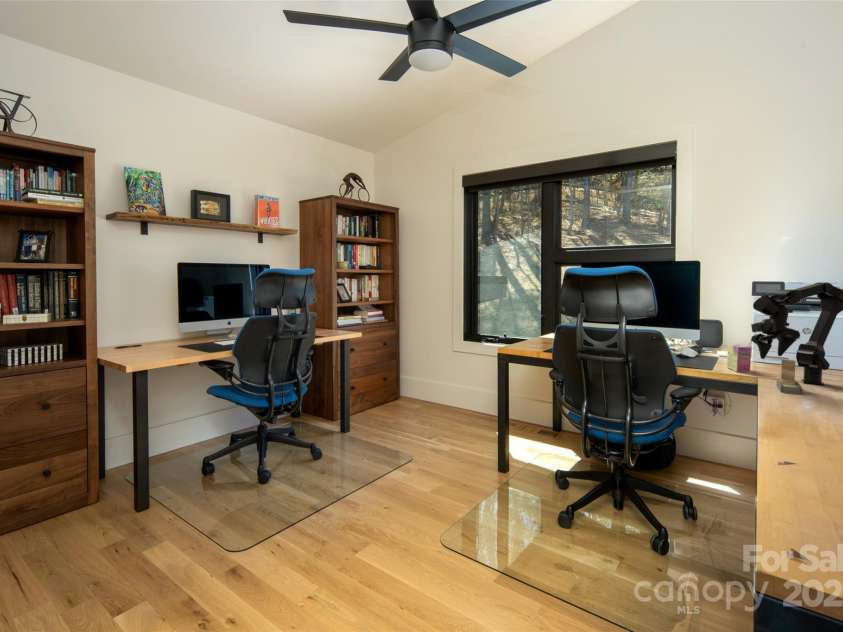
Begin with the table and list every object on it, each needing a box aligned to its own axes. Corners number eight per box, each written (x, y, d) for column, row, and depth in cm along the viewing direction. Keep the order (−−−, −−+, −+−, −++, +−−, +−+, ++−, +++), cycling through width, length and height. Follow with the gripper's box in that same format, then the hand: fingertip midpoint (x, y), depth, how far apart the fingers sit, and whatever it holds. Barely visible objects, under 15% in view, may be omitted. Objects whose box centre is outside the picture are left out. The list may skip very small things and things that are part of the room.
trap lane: (776, 385, 184) (776, 378, 184) (795, 387, 181) (795, 380, 181) (780, 392, 174) (781, 385, 174) (801, 394, 171) (801, 386, 170)
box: (750, 372, 210) (751, 347, 210) (736, 372, 212) (737, 346, 211) (739, 368, 221) (740, 344, 220) (726, 368, 222) (727, 343, 221)
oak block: (780, 382, 182) (781, 359, 181) (793, 383, 180) (794, 360, 179) (782, 384, 178) (783, 361, 178) (795, 385, 176) (796, 361, 176)
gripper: (741, 318, 192) (734, 353, 189) (774, 308, 173) (766, 347, 171) (768, 326, 191) (761, 362, 188) (804, 317, 172) (797, 357, 170)
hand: (770, 357), depth 179 cm, fingers open, 9 cm apart
